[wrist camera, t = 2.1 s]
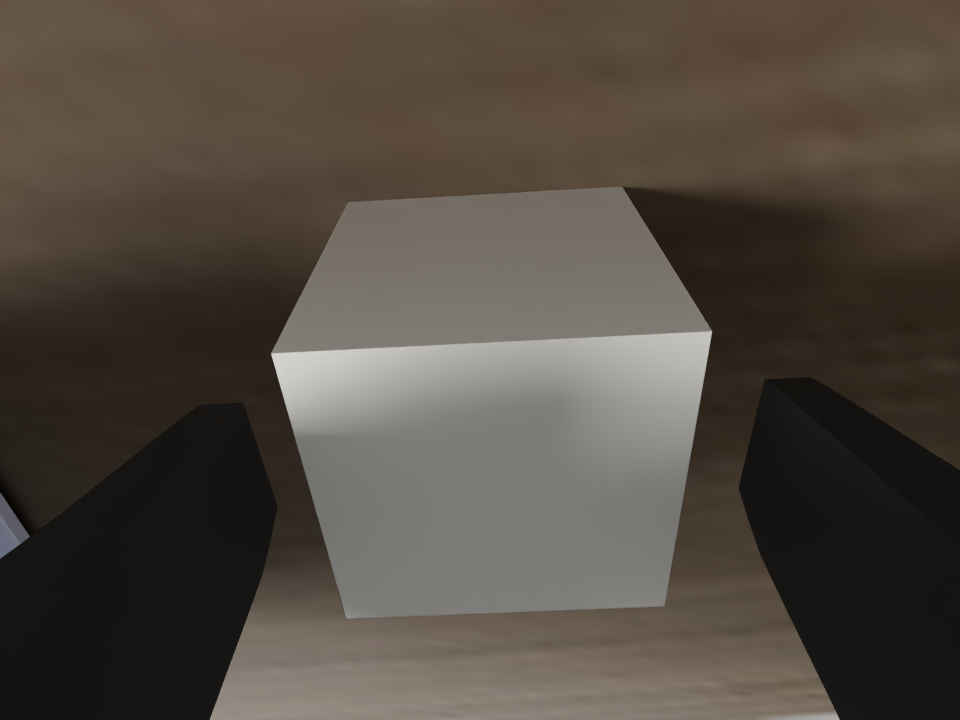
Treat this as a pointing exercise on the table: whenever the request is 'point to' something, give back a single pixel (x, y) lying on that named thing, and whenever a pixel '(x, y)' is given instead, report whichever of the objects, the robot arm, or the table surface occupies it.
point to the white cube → (495, 403)
